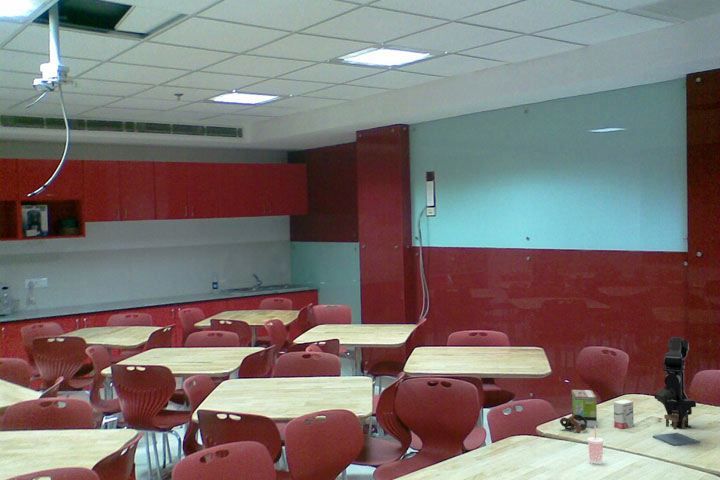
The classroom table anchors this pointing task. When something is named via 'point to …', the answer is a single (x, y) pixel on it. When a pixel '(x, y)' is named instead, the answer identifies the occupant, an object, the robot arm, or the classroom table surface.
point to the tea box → (585, 407)
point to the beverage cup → (595, 449)
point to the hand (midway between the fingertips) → (675, 419)
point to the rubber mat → (675, 439)
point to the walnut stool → (674, 420)
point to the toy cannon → (574, 422)
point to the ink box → (623, 414)
